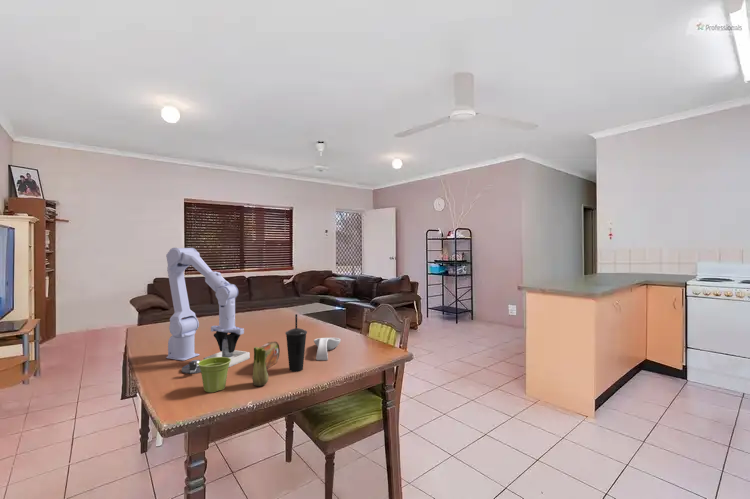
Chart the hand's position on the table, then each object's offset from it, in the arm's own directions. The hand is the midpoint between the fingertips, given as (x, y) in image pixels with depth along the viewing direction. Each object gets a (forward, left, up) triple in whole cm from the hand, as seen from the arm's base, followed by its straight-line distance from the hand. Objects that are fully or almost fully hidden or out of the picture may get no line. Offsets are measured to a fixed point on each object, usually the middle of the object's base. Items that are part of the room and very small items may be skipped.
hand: (227, 351), depth 136 cm
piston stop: (0, 0, -2) cm, 2 cm away
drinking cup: (+30, +2, -4) cm, 30 cm away
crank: (-2, -14, -3) cm, 14 cm away
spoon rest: (+30, +25, -4) cm, 39 cm away
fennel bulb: (+27, -14, -4) cm, 31 cm away
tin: (+18, +1, -4) cm, 19 cm away
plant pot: (+16, -22, -4) cm, 28 cm away
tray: (0, 0, -4) cm, 4 cm away
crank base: (-4, -11, -4) cm, 12 cm away
